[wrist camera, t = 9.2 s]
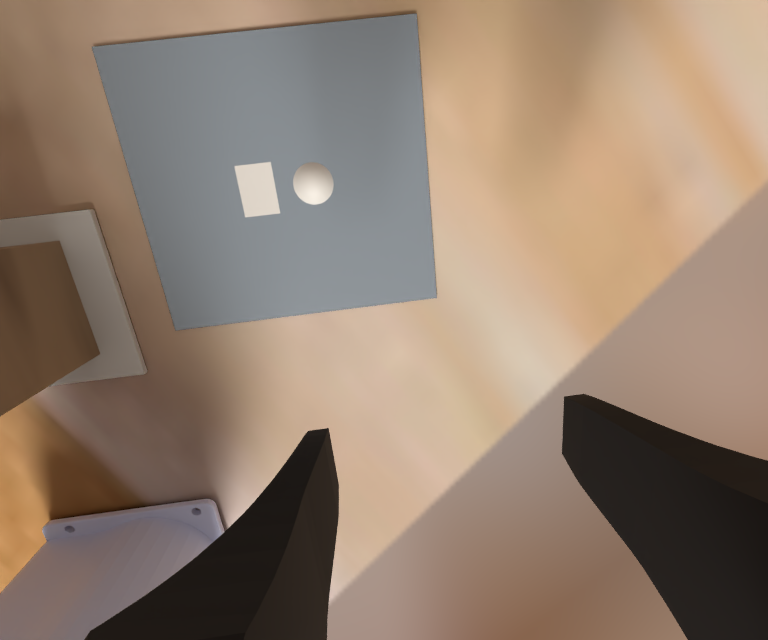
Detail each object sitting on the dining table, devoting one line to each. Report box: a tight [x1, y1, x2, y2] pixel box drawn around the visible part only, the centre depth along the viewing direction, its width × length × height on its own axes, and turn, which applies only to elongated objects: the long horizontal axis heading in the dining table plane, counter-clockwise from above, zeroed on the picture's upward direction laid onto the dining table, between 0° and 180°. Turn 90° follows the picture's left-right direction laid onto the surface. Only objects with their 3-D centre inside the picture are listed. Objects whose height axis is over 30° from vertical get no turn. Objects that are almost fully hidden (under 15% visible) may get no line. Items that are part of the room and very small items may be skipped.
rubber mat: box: [0, 209, 147, 387], centre depth 18 cm, size 9×8×1 cm
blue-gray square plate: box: [92, 13, 437, 331], centre depth 18 cm, size 13×12×1 cm
